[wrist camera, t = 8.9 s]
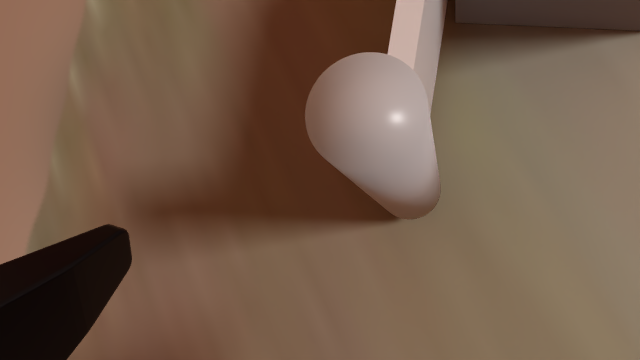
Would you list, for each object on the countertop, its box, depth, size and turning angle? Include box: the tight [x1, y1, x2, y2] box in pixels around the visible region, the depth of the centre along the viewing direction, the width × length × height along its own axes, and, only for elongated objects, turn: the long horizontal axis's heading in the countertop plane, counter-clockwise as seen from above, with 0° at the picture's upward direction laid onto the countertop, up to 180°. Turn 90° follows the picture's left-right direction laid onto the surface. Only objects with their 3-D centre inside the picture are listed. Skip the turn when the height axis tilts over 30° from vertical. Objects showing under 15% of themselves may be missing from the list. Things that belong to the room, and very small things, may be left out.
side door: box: [305, 0, 448, 219], centre depth 16 cm, size 12×3×11 cm, turn 170°
